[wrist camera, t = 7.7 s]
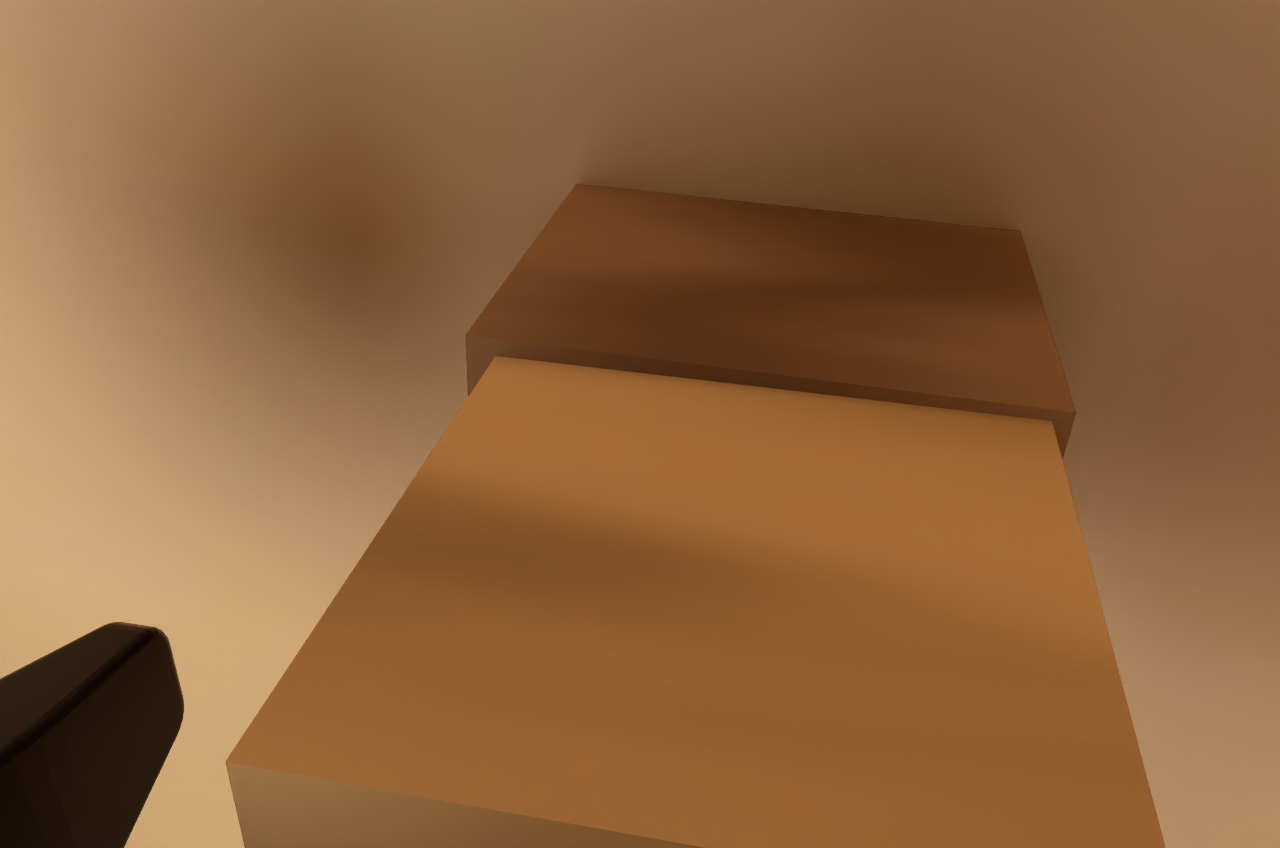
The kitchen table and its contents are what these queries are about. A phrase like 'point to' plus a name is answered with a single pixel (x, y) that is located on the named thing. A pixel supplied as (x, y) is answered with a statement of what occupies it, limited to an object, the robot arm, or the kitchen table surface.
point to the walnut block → (782, 303)
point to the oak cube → (708, 636)
